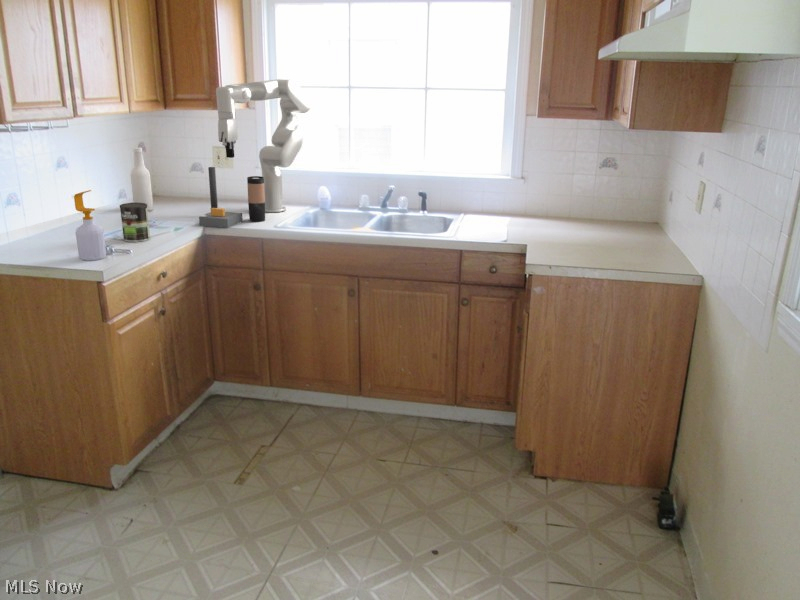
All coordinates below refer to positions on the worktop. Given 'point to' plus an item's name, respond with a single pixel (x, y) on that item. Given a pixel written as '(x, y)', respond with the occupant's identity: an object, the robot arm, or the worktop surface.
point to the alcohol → (141, 181)
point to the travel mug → (256, 198)
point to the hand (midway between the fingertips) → (230, 157)
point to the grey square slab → (221, 220)
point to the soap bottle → (89, 234)
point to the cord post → (213, 187)
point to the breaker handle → (217, 212)
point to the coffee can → (135, 222)
